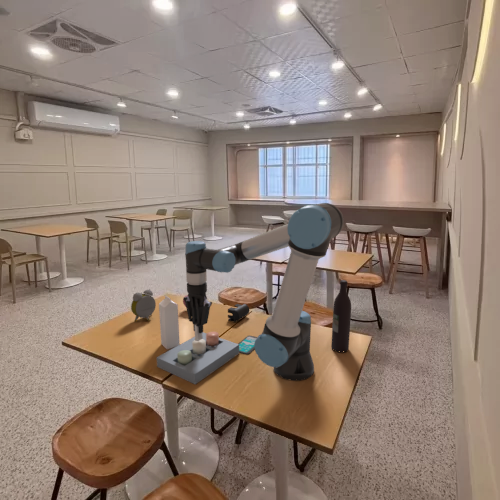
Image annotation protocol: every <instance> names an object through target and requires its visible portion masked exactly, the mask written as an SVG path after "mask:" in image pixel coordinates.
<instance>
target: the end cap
mask: <svg viewBox="0 0 500 500" xmlns="http://www.w3.org/2000/svg"><path fill="white" fill-rule="evenodd" d="M227 313H228V315H227V318H228V322H233V323H236V322H238V321H240V320H241V319H243V318H245V317H246V316H248V315H249V314H250V307H249V306H248V305H247V304H246V303H243V304H239V303H237V304H235V305H234V307H230V308H227Z"/></svg>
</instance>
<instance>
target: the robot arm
mask: <svg viewBox="0 0 500 500" xmlns="http://www.w3.org/2000/svg"><path fill="white" fill-rule="evenodd" d="M344 221H345V220H344V216H343V213H342V211H341V210H340V208H338V207H337V206H336V205H334V204H332V203H329V202H328V203H327V202H322V203H321V202H320V203H318V204H317V203H316V204H309V205H307V204H306V205H304V206H302V207H300V208H299V209H297V210H295V211H294V212H293V213H292V214H291V216H290V218H289V219H288V221H287V222H288V223H286V224H284V225H281V226H278V227H276V228H274V229H271V230H269V231H268V230H267V231H266V232H263V233H261V234H259V235H256V236H253V237H250V238H248V239H245V240H243V241H239V242H238V243H235V244H231V245H228V246H225V247H222V248H219V249H213V248H207V246H206V242H204V241H202V240H201V241H200V240H194V241H193V240H192V241H188V242H186V244H185V254H184V257H185V271H186V272H185V273H186V274H185V275H186V282H187V283H186V292H187V295H188V296H187V295H185V296H186V297H185V296H183V298H182V300H183V299H184V301H185V304H186V307H185V308H186V313H187V317H188V321H189V322H190V323H192V325H193V332H194V337H195V341H199V340H201V339H203V338H202V332H204V325H206V324H208V321H209V320H208V319H209V316H210V310H211V307H212V304H213V302H212V301H209V300H208V297H207V292H208V282H207V270H208V271H213V272H214V271H215V272H218V273H227V274H228V273H231V272H232V271H233V269H234V268H235V266H236V265H240V264H241V263H244V262H247V261H250V260H253V259H256V258H258V257H261V256H266V255H268V254H271V253H273V252H274V253H275V252H276V251H280V250H282V249H285V248H289V249H290V253H289V258H288V261H287V264H286V268H285V271H284V275H283V277H282V281H281V285H280V287H279V288H280V289H279V292H278V296H277V299H276V301H275V304H274V305H275V306H274V309H273V312H272V315H270V316H268V317H267V318H266V320H265V322H264V327H263V330H262V333H261V334H259V335H258V336H256V337H257V339H256V340H255V344H254V347H255V349H254V352H255V354H256V355H257V357H258V358H259V360H260V361H261V362H262V363H264V364H265V365H267V366H269V367H271V368H273V372H274V373H275V374H276V375H277V376H278V377H280V378H282V379H284V380H288V381H293V382H294V381H296V382H297V381H304V380H307V379H309V378H311V376H313V374H314V372H315V363H314V360H313V358H312V355H311V335H312V334H311V330H312V319H311V317H312V316H311V315H310V314H309V312H307V311H304V310H303V309H304V305H305V303H306V300H307V296H308V293H309V291H310V288H311V284H312V281H313V278H314V275H315V273H316V270H317V269H316V268H317V266H318V263H319V260H320V259H322V258H324V257H326V255H327V252H328V250H329V247H330V243H331V241H332V240H333V239H334V238H336V237H338V235H340V233H341V231H342V230H343V228H344V223H345V222H344Z"/></svg>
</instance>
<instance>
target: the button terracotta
mask: <svg viewBox="0 0 500 500" xmlns="http://www.w3.org/2000/svg"><path fill="white" fill-rule="evenodd" d="M219 336H220V335H219V332H218V331H208V332H207V334H206V344H207V345H208V346H217V345H218V344H219V338H220V337H219Z"/></svg>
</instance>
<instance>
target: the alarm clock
mask: <svg viewBox="0 0 500 500" xmlns="http://www.w3.org/2000/svg"><path fill="white" fill-rule="evenodd" d="M153 295H154V293H153V291H152V290H151V289H150V288H149V289H146V290H143V293H142V292H134V294H133V295H132V301H131V304H130V309H131V310H130V311H131V312H132V313H133V315H135V318H134V322H137V320H138V319H139V318H141V319H142V318H143V319H145V318H146V320H147V321H148V322H149V321H151V320H150V316H151V317H152V316H153V315H152V314H153V313H154V311H155V310H156V304H157V303H156V299H155V298H154V297H153Z"/></svg>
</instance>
